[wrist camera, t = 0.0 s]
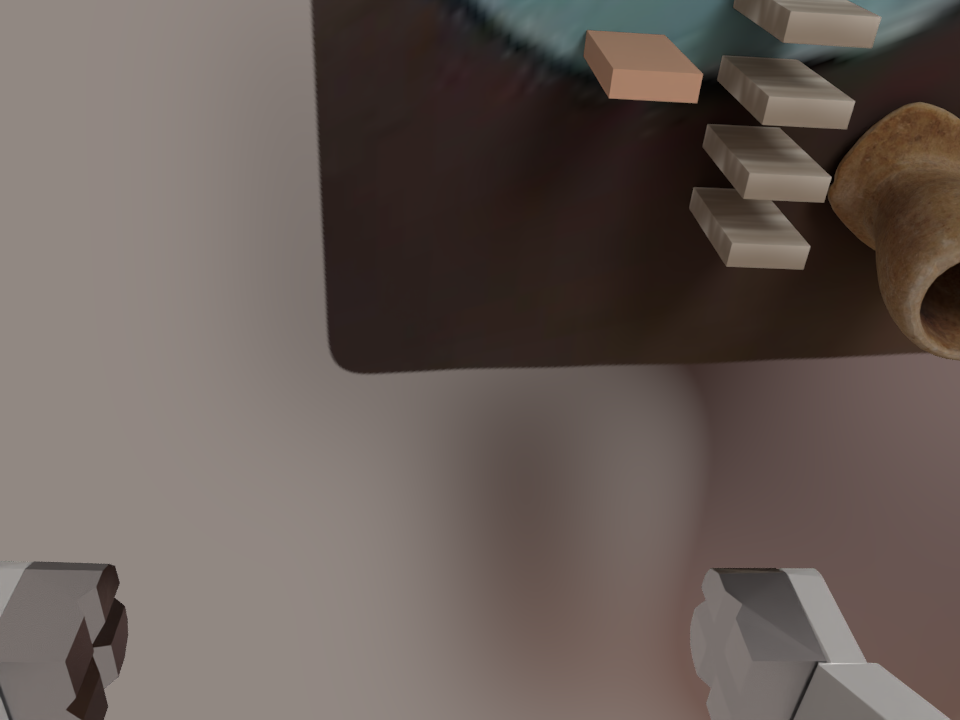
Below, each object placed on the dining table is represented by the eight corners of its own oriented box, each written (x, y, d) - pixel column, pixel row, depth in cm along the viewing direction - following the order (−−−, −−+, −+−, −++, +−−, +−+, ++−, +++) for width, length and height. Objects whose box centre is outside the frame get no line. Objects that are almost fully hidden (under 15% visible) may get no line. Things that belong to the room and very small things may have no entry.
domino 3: (722, 54, 56) (769, 96, 48) (797, 59, 56) (855, 101, 49) (716, 80, 57) (762, 124, 49) (790, 84, 57) (846, 129, 49)
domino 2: (738, -20, 53) (791, 11, 46) (817, -15, 54) (881, 17, 46) (732, 7, 54) (783, 42, 47) (809, 12, 55) (871, 48, 47)
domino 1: (586, 30, 54) (613, 68, 47) (664, 35, 55) (703, 74, 47) (583, 56, 55) (608, 98, 48) (660, 60, 56) (697, 103, 48)
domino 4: (707, 123, 58) (749, 173, 51) (779, 127, 59) (831, 177, 51) (702, 146, 59) (743, 198, 51) (773, 150, 59) (823, 202, 52)
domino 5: (693, 187, 61) (732, 243, 53) (762, 190, 61) (810, 246, 54) (688, 208, 61) (726, 266, 54) (756, 211, 62) (803, 269, 54)
